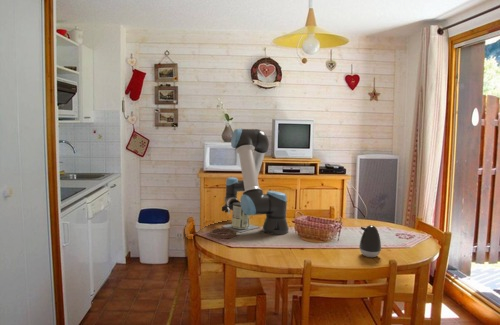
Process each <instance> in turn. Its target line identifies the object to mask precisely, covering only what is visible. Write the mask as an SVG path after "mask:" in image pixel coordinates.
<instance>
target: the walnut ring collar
mask: <svg viewBox="0 0 500 325" xmlns="http://www.w3.org/2000/svg"><path fill="white" fill-rule="evenodd" d="M217 232H228V233H229V232H230V233H229V234H216V233H217ZM209 235H210V237H213V238H215V237H216V239H217V238H219V239H231V238H235V237H236V236H237V231H235V230H232V229H227V228H224V227H222V228H221V227H219V228H213V229H211V230H210V231H209Z"/></svg>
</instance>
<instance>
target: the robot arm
mask: <svg viewBox="0 0 500 325" xmlns="http://www.w3.org/2000/svg"><path fill="white" fill-rule="evenodd" d="M230 140H231V141H230V143H231V147H232V149H234V150H235V153H237V154H238V157H239V162H240V169H241V175H242V179H238V177H232V176H231V177H227V178H226V180H225V197H224V203H225V204H224V205H223V206H221V212H224V213H225V214H228V215H231V211H233V203H235V202H240V204H241V208H242V211H243V212H244V213H245V214H246V215H249V216H260V215H261V216H262V215H265V219H264V221H263V225H262V231H263V233H265V234H269V235H285V234H288V233H289V225H288V221H287V205H288V199H287V198H288V195H287V194H286V193H284V192H281V191H274V190H268V191H267V192H266V193H264V191H263V189H262V188H260V185H259V184H260V183H259V178H258V177H259V174H260V170H261V168H262V164H263V161H264V158H265V155H266V153H268V151H269V147H270V143H269V138H268V135H267V134H266V133H265V132H264V131H263V130H261V129H258V128H250V129H249V128H235V129H234V130H233V132H232V135H231V137H230ZM239 192H242V195H241V196H240V200H239V199H238V193H239Z"/></svg>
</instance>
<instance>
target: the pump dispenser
mask: <svg viewBox="0 0 500 325" xmlns="http://www.w3.org/2000/svg"><path fill="white" fill-rule="evenodd" d="M360 229H361V230H363V232H362V235H361V236H360V241H359V251H360V253H361V254H362V255H363V256H364V257H366V258H376V257H377V256H379V254H380V252H381V251H382V241H381V236H380V233H379V231H378V229H377V227H376V226H374V225H371V224H370V225H368V226H366V227H363V226H361V227H360Z"/></svg>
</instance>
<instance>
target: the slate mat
mask: <svg viewBox="0 0 500 325" xmlns="http://www.w3.org/2000/svg"><path fill="white" fill-rule="evenodd" d="M221 227H222V228H227V229H232V230H235V231H236V233H237V232H238V233H243V232H244V233H245V232H248V231H253V230H256V229H259V228H260V226H257V225H254V224H250V223H249V228H247V229H237V228H233V227H232V223H228V224H224V225H221Z"/></svg>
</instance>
